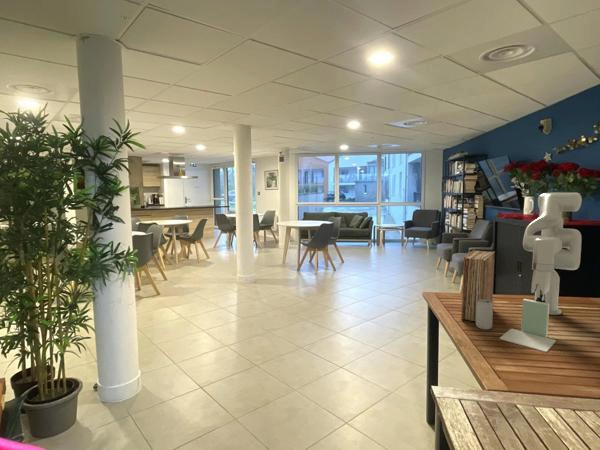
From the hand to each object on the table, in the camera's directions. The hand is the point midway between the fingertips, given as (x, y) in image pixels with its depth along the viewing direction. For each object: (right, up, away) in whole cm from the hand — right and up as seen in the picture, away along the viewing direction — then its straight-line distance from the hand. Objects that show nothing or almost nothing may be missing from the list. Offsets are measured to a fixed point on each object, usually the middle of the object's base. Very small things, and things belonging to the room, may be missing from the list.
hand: (540, 308), depth 149 cm
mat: (-12, -10, -10) cm, 19 cm away
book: (-17, -8, +19) cm, 27 cm away
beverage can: (-23, -9, +3) cm, 25 cm away
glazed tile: (-5, -10, -4) cm, 12 cm away
